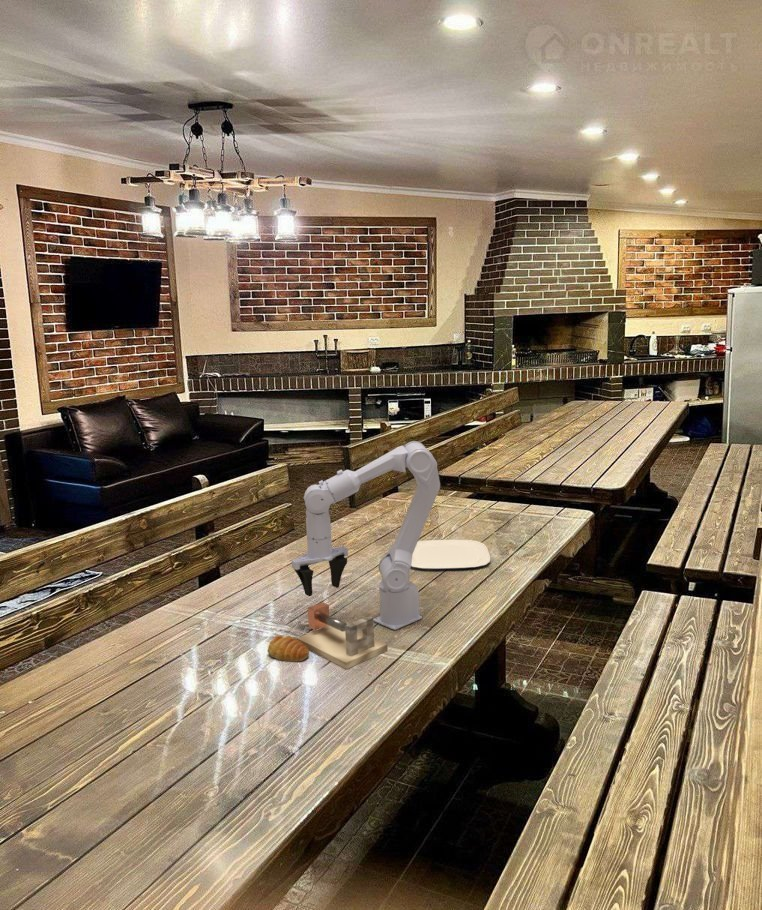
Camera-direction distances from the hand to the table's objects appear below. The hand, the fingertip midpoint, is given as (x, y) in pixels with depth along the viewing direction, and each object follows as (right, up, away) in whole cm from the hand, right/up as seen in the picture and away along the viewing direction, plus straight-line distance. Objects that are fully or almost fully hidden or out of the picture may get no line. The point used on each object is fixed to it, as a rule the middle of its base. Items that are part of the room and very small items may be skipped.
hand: (322, 590), depth 182 cm
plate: (+34, +1, +48) cm, 59 cm away
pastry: (-7, -13, -11) cm, 18 cm away
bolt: (+2, -8, -7) cm, 11 cm away
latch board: (+5, -11, -9) cm, 15 cm away
